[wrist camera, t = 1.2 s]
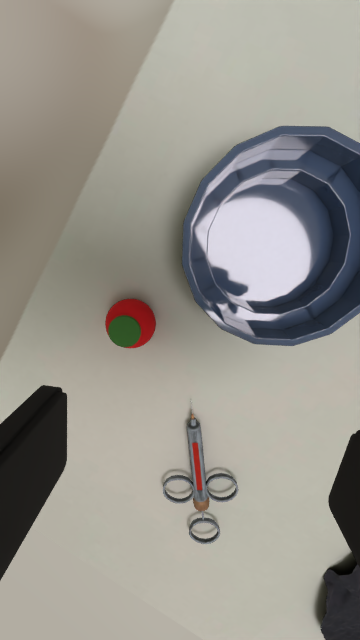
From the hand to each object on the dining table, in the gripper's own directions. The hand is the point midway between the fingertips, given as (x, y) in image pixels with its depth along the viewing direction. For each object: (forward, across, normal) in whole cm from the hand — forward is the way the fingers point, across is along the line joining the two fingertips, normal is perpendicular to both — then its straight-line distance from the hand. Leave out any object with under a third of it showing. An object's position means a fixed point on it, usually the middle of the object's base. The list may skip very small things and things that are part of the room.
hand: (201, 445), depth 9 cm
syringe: (+15, -2, +16) cm, 22 cm away
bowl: (+15, -5, -7) cm, 17 cm away
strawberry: (+15, +5, +1) cm, 16 cm away
